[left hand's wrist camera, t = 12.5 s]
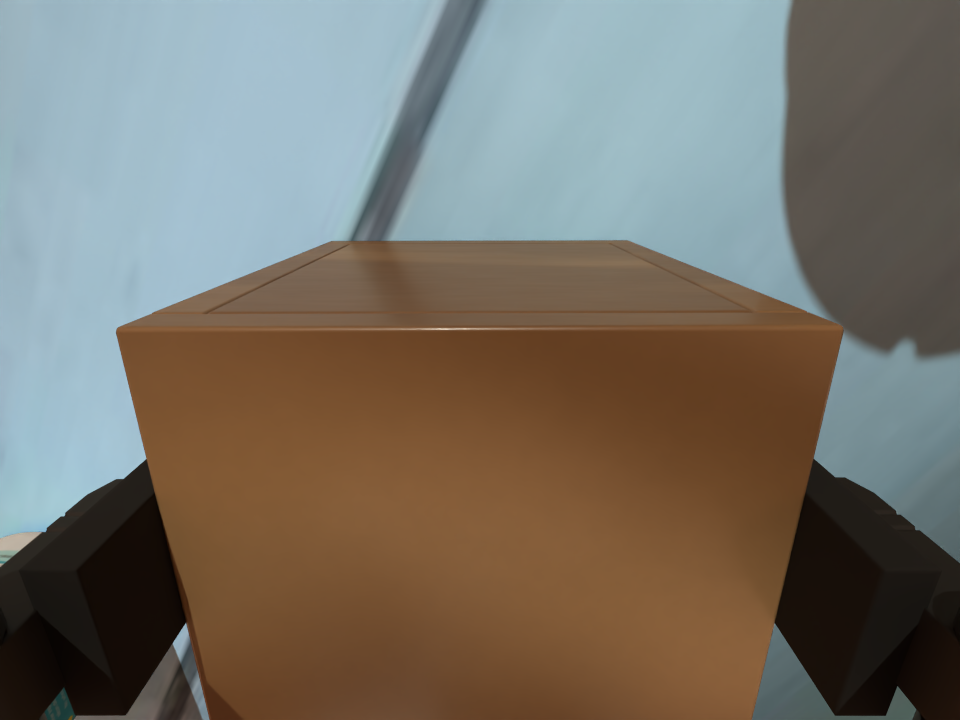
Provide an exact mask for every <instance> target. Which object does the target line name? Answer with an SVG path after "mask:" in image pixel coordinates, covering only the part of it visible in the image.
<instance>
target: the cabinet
mask: <svg viewBox="0 0 960 720" xmlns="http://www.w3.org/2000/svg"><path fill="white" fill-rule="evenodd" d="M843 331H844V330H843V327H842V326H841V325H839V324H837V323H834V322H832V321H829V320H827V319H824V318H821V317H819V316H816V315H814V314H811V313H809V312H807V311H805V310H802V309H800V308H797V307H795V306H792V305H789V304H787V303H784V302H782V301H779V300H777V299H774V298H772V297H769V296H767V295H764V294H762V293H759V292H757V291H754V290H752V289H749V288H746V287H744V286H741V285H739V284H736V283H734V282H731V281H729V280H726V279H724V278H721V277H719V276H716V275H714V274H711V273H709V272H706V271H703V270H701V269H698V268H696V267H693V266H691V265H688V264H686V263H683V262H681V261H678V260H676V259H673V258H671V257H668V256H666V255H663V254H660V253H658V252H655V251H653V250H650V249H648V248H645V247H643V246H640V245H638V244H635V243H633V242H630V241H628V240H594V241H331V242H328V243H326V244H323V245H321V246H318V247H316V248H313V249H311V250H308V251H306V252H303V253H301V254H298V255H296V256H293V257H291V258H288V259H286V260H283V261H281V262H278V263H276V264H273V265H271V266H268V267H266V268H263V269H261V270H258V271H256V272H253V273H251V274H248V275H246V276H243V277H241V278H238V279H236V280H233V281H231V282H228V283H226V284H223V285H221V286H218V287H216V288H213V289H211V290H208V291H206V292H203V293H201V294H198V295H196V296H193V297H191V298H188V299H186V300H183V301H181V302H178V303H176V304H173V305H171V306H168V307H166V308H163V309H161V310H158V311H156V312H153V313H152V314H150V315H147V316H145V317H142V318H140V319H137V320H135V321H132V322H130V323H128V324H125V325H123V326H120V327H118V328H117V330H116V334H117V338H118V343H119V347H120V351H121V355H122V359H123V363H124V367H125V371H126V376H127V380H128V384H129V388H130V392H131V396H132V400H133V405H134V409H135V413H136V417H137V421H138V425H139V429H140V434H141V438H142V442H143V446H144V450H145V454H146V458H147V462H148V467H149V471H150V475H151V479H152V483H153V487H154V491H155V496H156V500H157V504H158V508H159V512H160V516H161V520H162V525H163V529H164V533H165V537H166V541H167V545H168V549H169V553H170V558H171V562H172V566H173V570H174V574H175V578H176V582H177V587H178V591H179V595H180V599H181V603H182V607H183V611H184V616H185V620H186V624H187V628H188V632H189V636H190V640H191V644H192V649H193V653H194V657H195V661H196V665H197V669H198V673H199V678H200V682H201V686H202V690H203V694H204V698H205V702H206V707H207V711H208V715H209V719H210V720H752V716H753V712H754V708H755V703H756V699H757V695H758V691H759V687H760V682H761V678H762V674H763V670H764V665H765V661H766V657H767V653H768V648H769V644H770V640H771V636H772V632H773V627H774V623H775V619H776V615H777V610H778V606H779V602H780V598H781V593H782V589H783V585H784V581H785V577H786V572H787V568H788V564H789V560H790V555H791V551H792V547H793V543H794V538H795V534H796V530H797V526H798V522H799V517H800V513H801V509H802V505H803V500H804V496H805V492H806V488H807V484H808V479H809V475H810V471H811V467H812V462H813V458H814V454H815V450H816V445H817V441H818V437H819V433H820V429H821V424H822V420H823V416H824V412H825V407H826V403H827V399H828V395H829V390H830V386H831V382H832V378H833V374H834V369H835V365H836V361H837V357H838V352H839V348H840V344H841V340H842V335H843Z"/></svg>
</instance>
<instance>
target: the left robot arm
mask: <svg viewBox="0 0 960 720" xmlns="http://www.w3.org/2000/svg"><path fill="white" fill-rule="evenodd" d="M185 623H186V620H185V616H184V611H183V607H182V603H181V599H180V595H179V591H178V587H177V582H176V578H175V574H174V570H173V566H172V562H171V558H170V553H169V549H168V545H167V541H166V537H165V533H164V529H163V525H162V520H161V516H160V512H159V508H158V504H157V500H156V496H155V491H154V487H153V483H152V479H151V475H150V471H149V467H148V462H147V459H146V460H145V461H144V462H143V463H142V464H140V465H139V466H138V467H137V468H136V469H135V470H133V471H132V472H131V473H130V474H129V475H128V476H127V477H125V478H124V479H116V480H114V481H112V482H110V483H108V484H106V485H105V486H103V487H101V488H99V489H97V490H95V491H93V492H91V493H89V494H88V495H86V496H85V497H84V498H83V499H81V500H80V501H79V502H78V503H77V504H75V505H74V506H73V507H72V508H71V509H69V510H68V511H67V512H66V513H65V516H64V517H60V518H59V519H57V520H56V521H55V522H54V523H52V524H51V525H50V526H49V527H48V528H47V531H46V532H42V533H40V534H39V535H38V536H37V537H36V538H34V539H33V540H32V541H31V542H30V543H28V544H27V545H26V546H25V547H23V548H22V549H21V550H20V551H19V552H17V553H16V554H15V555H14V556H13V557H11V558H10V559H9V560H8V561H7V562H5V563H4V564H3V565H2V566H1V567H0V720H48V719H47V717H46V715H45V711H46V709H47V708H48V707H49V706H50V704H51V703H52V702H53V701H54V699H55V698H56V697H57V696H58V694H59V693H60V692H61V691H62V689H63V688H65V691H66V694H67V696H68V699H69V701H70V704H71V706H72V709H73V712H74V714H75V715H126V714H127V713H128V711H129V709H130V708H131V706H132V705H133V703H134V702H135V700H136V699H137V697H138V696H139V694H140V693H141V691H142V689H143V688H144V686H145V685H146V683H147V682H148V680H149V679H150V677H151V676H152V674H153V672H154V671H155V669H156V668H157V666H158V665H159V663H160V662H161V660H162V659H163V657H164V656H165V654H166V652H167V651H168V649H169V648H170V646H171V645H172V643H173V642H174V640H175V639H176V637H177V635H178V634H179V632H180V631H181V629H182V628H183V626H184V625H185ZM775 624H776V625H777V627H778V628H779V630H780V632H781V633H782V635H783V636H784V638H785V639H786V641H787V642H788V644H789V645H790V647H791V648H792V650H793V652H794V653H795V655H796V656H797V658H798V659H799V661H800V662H801V664H802V665H803V667H804V669H805V670H806V672H807V673H808V675H809V676H810V678H811V679H812V681H813V682H814V684H815V685H816V687H817V689H818V690H819V692H820V693H821V695H822V696H823V698H824V699H825V701H826V702H827V704H828V706H829V707H830V709H831V710H832V712H833V713H834V715H835V716H886V714H887V711H888V708H889V706H890V703H891V701H892V698H893V696H894V693H895V691H896V688H897V686H898V687H899V688H900V689H901V691H902V692H903V693H904V694H905V696H906V697H907V698H908V699H909V700H910V702H911V703H912V704H913V705H914V707H915V708H916V709H917V710H916V712H915V715H914V717H913V719H912V720H960V563H959V562H957V561H956V560H955V559H954V558H953V557H951V556H950V555H949V554H948V553H947V552H945V551H944V550H943V549H942V548H940V547H939V546H938V545H937V544H936V543H934V542H933V541H932V540H931V539H929V538H928V537H927V536H926V535H925V534H923V533H922V532H921V531H920V530H915V526H914V525H912V524H911V523H910V522H909V521H908V520H906V519H905V518H904V517H903V516H902V515H897V514H896V511H895V510H894V509H893V508H892V507H891V506H889V505H888V504H887V503H886V502H884V501H883V500H882V499H881V498H880V497H878V496H877V495H876V494H875V493H873V492H871V491H869V490H868V489H866V488H864V487H862V486H860V485H858V484H856V483H854V482H852V481H850V480H849V479H847V478H835V477H834V476H833V475H832V474H831V473H829V472H828V471H827V470H826V469H825V468H824V467H823V466H821V465H820V464H819V463H818V462H817V461H816V460H814V459H813V462H812V467H811V471H810V475H809V479H808V484H807V488H806V492H805V496H804V500H803V505H802V509H801V513H800V517H799V522H798V526H797V530H796V534H795V538H794V543H793V547H792V551H791V555H790V560H789V564H788V568H787V572H786V577H785V581H784V585H783V589H782V593H781V598H780V602H779V606H778V610H777V615H776V619H775Z"/></svg>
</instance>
